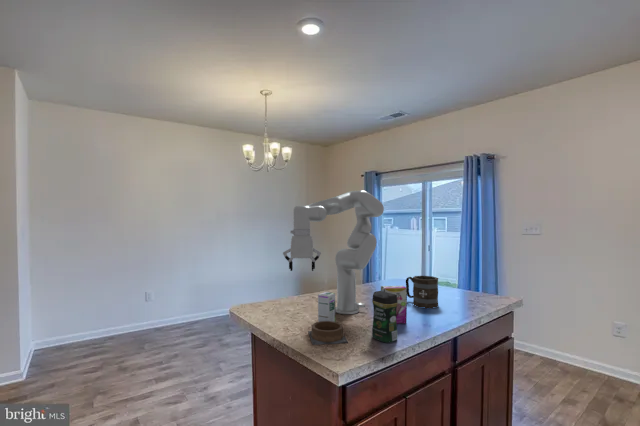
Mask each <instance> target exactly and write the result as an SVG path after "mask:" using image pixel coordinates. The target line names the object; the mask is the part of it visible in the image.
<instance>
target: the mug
mask: <svg viewBox="0 0 640 426" xmlns="http://www.w3.org/2000/svg"><path fill="white" fill-rule="evenodd" d="M409 279H410V280H411V283H413V285H412V286H413V288H412V294H413V295H410V294H411V293H410V285H409ZM438 284H439V277H435V276H431V275H414V276H413V277H411V276H408V277H406V279H405V287H406V288H407V298H410V299H413V300H412V301H413V302H412V305H413V304H414V305H416V306H418V307H417V308H419V307H425V308H424V309H427V308H431V309H434V308H433V307H437V306H438V307H439V285H438ZM414 305H413V306H414ZM416 306H415V307H416ZM438 307H437V308H438Z"/></svg>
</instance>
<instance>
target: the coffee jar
mask: <svg viewBox="0 0 640 426" xmlns="http://www.w3.org/2000/svg"><path fill="white" fill-rule="evenodd" d="M371 300H372V301H371V302H372V306H373V316H372V317H373V320H372V330H371V331H372V333H371V336H372V338H373V339H375V340H377V341H380V342H383V343H387V344H388V343H394V342H396V341H397V340H398V324H397V322H396V308H397V304H398V301H397V295H396V294H392V293H388V292H384V291H381V290H377V291H374V292H373V293H372V299H371Z"/></svg>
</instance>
